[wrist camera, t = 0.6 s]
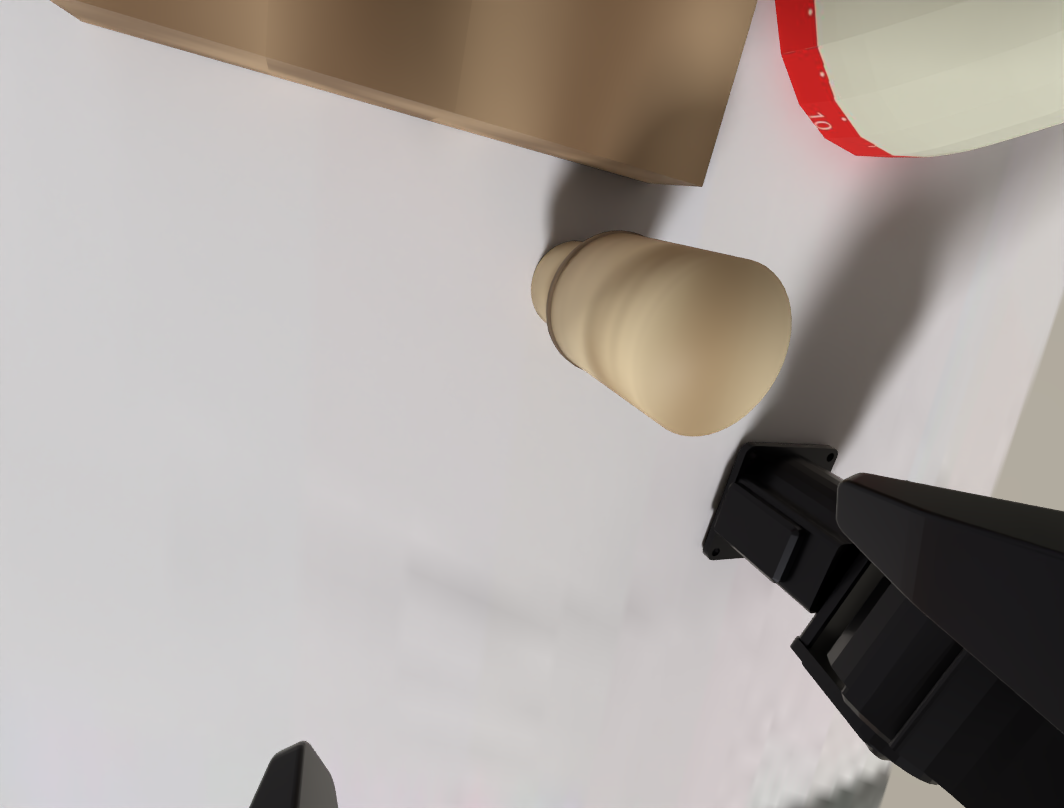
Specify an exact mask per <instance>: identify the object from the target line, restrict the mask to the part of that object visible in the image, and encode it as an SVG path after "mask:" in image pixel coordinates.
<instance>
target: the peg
mask: <svg viewBox="0 0 1064 808" xmlns="http://www.w3.org/2000/svg"><path fill="white" fill-rule="evenodd" d="M531 296H532V301H533V305H534V308H535V310H536V312H537V313H538V315H539V316H540V318H541V319H542V320H543V321H544V322H546V323H547V326H548V331H549V334H550V336H551V339H552V341H553V343H554V345H555V347H556V348H557V350H558V351H559V352H560V354H561V355H562V356H563V357H564V358H565V359H566V360H568V361H569V362H571V363H572V364H573V365H575V366H576V367H578V368H580V369H582V370H584V371H586V372H587V373H588V374H590V375H591V376H593V377H594V378H595V379H597V380H598V381H600V382H601V383H602V384H604V385H605V386H607V387H608V388H609V389H611V390H612V391H614V392H615V393H616V394H618V395H619V396H621V397H622V398H623V399H625V400H626V401H628V402H629V403H630V404H632V405H633V406H635V407H636V408H637V409H639V410H640V411H641V412H643V413H644V414H646V415H647V416H648V417H650V418H651V419H653V420H654V421H655V422H657V423H658V424H660V425H661V426H662V427H664V428H665V429H667V430H669V431H671V432H673V433H676V434H679V435H684V436H703V435H709V434H712V433H715V432H718V431H721V430H723V429H725V428H727V427H729V426H731V425H732V424H734V423H736V422H737V421H739V420H740V419H741V418H743V417H744V416H745V415H747V414H748V413H749V412H750V411H751V410H752V409H753V408H754V407H755V406H756V405H757V404H758V403H759V402H760V401H761V400H762V398H763V397H764V396H765V394H766V393H767V392H768V390H769V389H770V387H771V386H772V384H773V383H774V381H775V379H776V377H777V376H778V374H779V372H780V369H781V367H782V365H783V362H784V360H785V357H786V354H787V351H788V346H789V342H790V336H791V320H792V318H791V308H790V303H789V299H788V296H787V293H786V291H785V288H784V286H783V285H782V283H781V281H780V280H779V279H778V277H777V276H776V275H775V274H774V273H773V272H772V271H771V270H770V269H769V268H767V267H766V266H764V265H762V264H760V263H758V262H755V261H752V260H749V259H744V258H740V257H735V256H731V255H726V254H722V253H717V252H712V251H708V250H703V249H699V248H694V247H690V246H685V245H680V244H676V243H671V242H667V241H662V240H657V239H653V238H648V237H645V236H643V235H640V234H637V233H634V232H629V231H622V230H621V231H608V232H603V233H600V234H597V235H595V236H592V237H590V238H588V239H587V240H585V241H584V242H582V241H569V242H565V243H562V244H560V245H557V246H556V247H554V248H553V249H551V250H550V251H549V252H548V253H546V255H545V256H544V257H543V258H542V259H541V261H540V262H539V264H538V266H537V267H536V270H535V272H534V275H533V279H532V284H531Z"/></svg>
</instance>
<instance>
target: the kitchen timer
mask: <svg viewBox="0 0 1064 808" xmlns="http://www.w3.org/2000/svg"><path fill="white" fill-rule="evenodd" d="M775 5H776V14H777V22H778V31H779V40H780V49H781V55H782V58H783V61H784V63H785V66H786V69H787V72H788V75H789V77H790V80H791V83H792V86H793V88H794V91H795V94H796V97H797V100H798V102H799V105H800V106H801V107H802V109H803V110H804V111H805V113H806V114H807V115H808V117H809V118H810V119H811V120H812V122H813V123H814V124H815V126H816V127H817V128H818V130H819V131H820V132H821V134H822V135H823V136H824V137H825V138H826V139H827V140H829V141H831V142H833V143H834V144H836V145H838V146H840V147H842V148H843V149H845V150H847V151H849V152H850V153H852V154H854V155H856V156H873V157H934V156H943V155H949V154H954V153H960V152H965V151H970V150H973V149H977V148H981V147H985V146H989V145H992V144H996V143H999V142H1002V141H1006V140H1009V139H1013V138H1016V137H1019V136H1022V135H1026V134H1029V133H1032V132H1036V131H1039V130H1042V129H1045V128H1048V127H1052V126H1055V125H1058V124H1061V123H1064V0H775Z"/></svg>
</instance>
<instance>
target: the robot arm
mask: <svg viewBox="0 0 1064 808" xmlns="http://www.w3.org/2000/svg"><path fill="white" fill-rule="evenodd" d="M837 455H838V451H837V450H836V449H834V448H832V447H831V446H828V445H808V444H784V443H760V442H748V443H746V444H744V445H743V446H742V447H741V449H740V451H739V453H738V456H737V458H736V461H735V464H734V467H733V469H732V472H731V475H730V477H729V480H728V483H727V485H726V488H725V491H724V493H723V496H722V499H721V502H720V504H719V507H718V510H717V512H716V515H715V518H714V520H713V523H712V526H711V529H710V531H709V534H708V537H707V539H706V542H705V545H704V547H703V554H705V555H706V556H707V557H708V558H709V559H710V560H722V559H734V558H745V559H746V560H748V561H749V562H750V563H751V564H752V565H753V566H754V567H756V568H757V569H758V570H759V571H760V572H761V573H762V574H764V575H765V576H766V577H767V578H768V579H769V580H770V581H772V582H773V583H776V584H777V585H779V586H780V587H781V588H782V589H783V590H784V591H785V592H787V593H788V594H789V595H790V596H791V597H792V598H794V599H795V600H796V601H797V602H798V603H799V604H800V605H802V606H803V607H804V608H805V609H806V610H807V611H808V612H810V613H815V615H814V617H813V618H812V620H811V621H810V623H809V624H808V625H807V627H806V628H805V630H804V631H803V633H802V634H801V635H800V636H797V637H796V638H795V640H794V641H793V643H792V644H791V645H790V647H791V648H792V650H793V651H794V652H795V653H796V655H797V656H798V657H799V658H800V660H801V661H802V665H803V666H804V667H805V669H806V670H807V671H808V672H809V674H810V675H811V676H812V677H813V679H814V680H815V681H816V683H817V684H818V685H819V686H820V688H821V689H822V690H823V691H824V693H825V694H826V695H827V696H828V698H829V699H830V700H831V702H832V703H833V704H834V705H835V707H836V708H837V709H838V710H839V712H840V713H841V714H842V715H843V717H844V718H845V719H846V720H847V722H848V723H849V724H850V726H851V727H852V728H853V729H854V731H855V732H856V733H857V734H858V736H859V737H860V738H861V739H862V740H863V741H864V742H865V743H866V745H867V747H868V748H869V750H870V751H871V752H872V753H873V754H874V755H875V756H877V757H878V758H880V759H882V760H889V761H892V762H893V763H894V764H896V765H897V766H899V767H900V768H902V769H903V770H904V771H906V772H907V773H909V774H911V775H912V776H914V777H916V778H918V779H920V780H922V781H924V782H927V783H929V784H934V785H937V784H939V785H940V786H941V787H942V788H944V789H945V790H946V791H947V792H948V793H950V794H951V795H952V796H953V797H954V798H955V799H956V800H958V801H959V802H960V803H961V804H962V805H964V807H965V808H1064V511H1059V510H1053V509H1049V508H1043V507H1038V506H1033V505H1028V504H1023V503H1018V502H1012V501H1007V500H1002V499H997V498H992V497H987V496H982V495H977V494H971V493H966V492H961V491H956V490H951V489H946V488H941V487H935V486H930V485H925V484H920V483H915V482H910V481H907V480H906V481H905V480H899V479H894V478H889V477H884V476H879V475H874V474H869V473H858V474H855V475H853V476H851V477H849V478H846V479H844V480H843V479H842V478H840V477H838V476H836V475H835V474H833V473H831V470H832V467H833V465H834V463H835V460H836V458H837ZM249 808H338V804H337V797H336V791H335V786H334V782H333V779H332V777H331V774H330V773H329V771H328V769H327V768H326V766H325V765H324V764H323V762H322V761H321V759H320V758H319V756H318V755H317V753H316V752H315V751H314V749H313V748H312V746H311V745H310V744H309V743H308V742H306V741H301V742H298V743H296V744H294V745H292V746H290V747H288V748H286V749H284V750H282V751H280V752H278V753H276V754H275V755H274V756H273V758H272V759H271V761H270V763H269V765H268V767H267V769H266V771H265V774H264V776H263V778H262V780H261V783H260V785H259V787H258V789H257V791H256V794H255V796H254V798H253V800H252V802H251V805H250V807H249Z"/></svg>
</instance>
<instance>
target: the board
mask: <svg viewBox="0 0 1064 808" xmlns="http://www.w3.org/2000/svg"><path fill="white" fill-rule="evenodd" d="M50 1H52V2H53V3H55V4H56V5H58V6H59V7H61V8H62V9H64V10H65V11H67V12H68V13H70V14H71V15H73V16H74V17H76V18H77V19H79V20H80V21H82V22H86V23H89V24H93V25H96V26H100V27H103V28H107V29H110V30H114V31H117V32H121V33H124V34H128V35H131V36H135V37H138V38H142V39H145V40H149V41H152V42H156V43H159V44H163V45H166V46H170V47H173V48H177V49H180V50H184V51H187V52H191V53H194V54H198V55H201V56H205V57H208V58H212V59H215V60H219V61H222V62H226V63H229V64H233V65H236V66H240V67H243V68H247V69H250V70H254V71H257V72H261V73H264V74H268V75H271V76H275V77H278V78H282V79H285V80H289V81H292V82H296V83H299V84H303V85H306V86H310V87H313V88H317V89H320V90H324V91H327V92H331V93H334V94H338V95H341V96H345V97H348V98H352V99H355V100H359V101H362V102H366V103H369V104H373V105H376V106H380V107H383V108H387V109H390V110H394V111H397V112H401V113H404V114H408V115H411V116H415V117H418V118H422V119H425V120H429V121H432V122H436V123H439V124H443V125H446V126H450V127H453V128H457V129H460V130H464V131H467V132H471V133H474V134H478V135H481V136H485V137H488V138H492V139H495V140H499V141H502V142H506V143H509V144H513V145H516V146H520V147H523V148H527V149H530V150H534V151H537V152H541V153H544V154H548V155H551V156H555V157H558V158H562V159H565V160H569V161H572V162H576V163H579V164H583V165H586V166H590V167H593V168H597V169H600V170H604V171H607V172H611V173H614V174H618V175H621V176H625V177H628V178H632V179H635V180H639V181H642V182H646V183H654V184H669V185H684V186H699V187H702V186H703V183H704V179H705V176H706V173H707V169H708V166H709V162H710V159H711V156H712V152H713V149H714V146H715V142H716V139H717V135H718V132H719V129H720V125H721V122H722V119H723V115H724V112H725V108H726V105H727V102H728V98H729V95H730V92H731V88H732V85H733V81H734V78H735V75H736V71H737V68H738V65H739V61H740V58H741V54H742V51H743V48H744V44H745V41H746V38H747V34H748V31H749V27H750V24H751V21H752V17H753V14H754V11H755V7H756V4H757V0H50Z"/></svg>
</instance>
